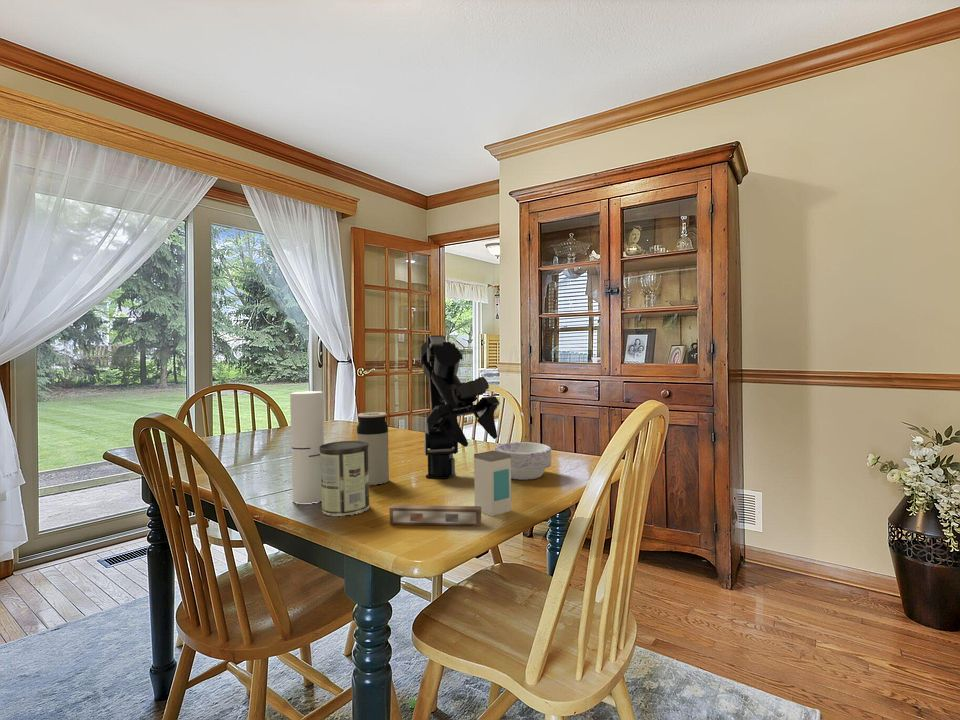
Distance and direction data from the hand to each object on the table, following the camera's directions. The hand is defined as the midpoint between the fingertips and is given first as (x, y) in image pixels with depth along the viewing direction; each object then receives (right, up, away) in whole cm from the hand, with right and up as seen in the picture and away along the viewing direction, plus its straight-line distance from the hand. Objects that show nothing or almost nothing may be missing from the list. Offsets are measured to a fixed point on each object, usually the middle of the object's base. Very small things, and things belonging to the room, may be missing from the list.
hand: (481, 441), depth 113 cm
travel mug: (-28, -14, +18) cm, 36 cm away
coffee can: (-30, -14, -5) cm, 33 cm away
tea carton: (+2, -13, -7) cm, 15 cm away
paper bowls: (+11, -13, +22) cm, 28 cm away
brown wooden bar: (-9, -14, -15) cm, 22 cm away
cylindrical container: (-40, -14, +3) cm, 43 cm away
